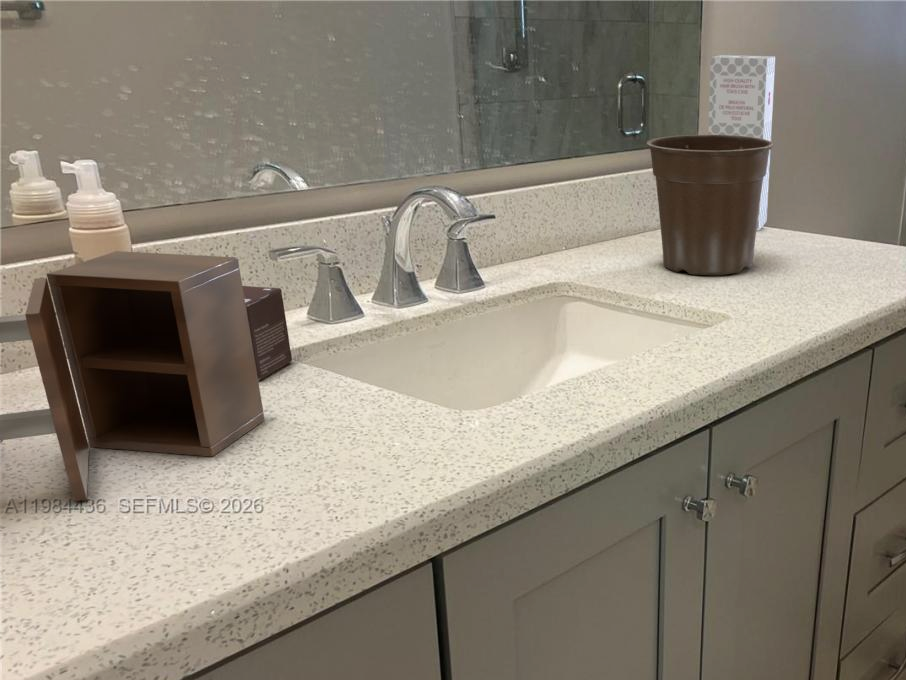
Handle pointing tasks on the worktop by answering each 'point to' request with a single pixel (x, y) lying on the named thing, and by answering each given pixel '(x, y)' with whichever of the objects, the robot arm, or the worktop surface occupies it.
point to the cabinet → (159, 351)
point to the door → (49, 387)
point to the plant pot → (709, 200)
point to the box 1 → (267, 328)
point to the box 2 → (743, 104)
